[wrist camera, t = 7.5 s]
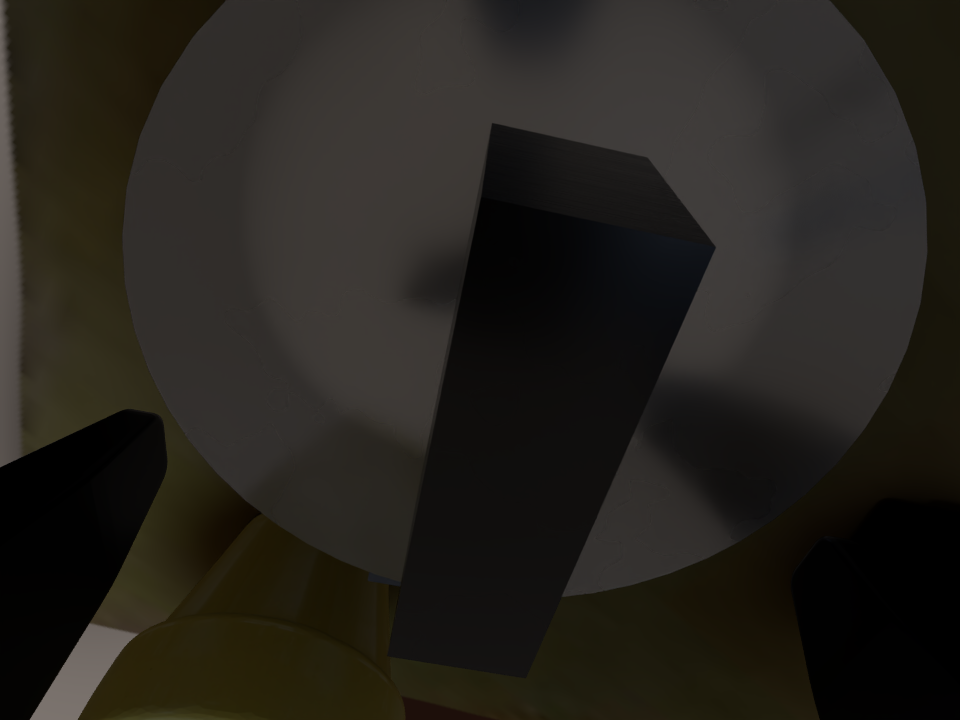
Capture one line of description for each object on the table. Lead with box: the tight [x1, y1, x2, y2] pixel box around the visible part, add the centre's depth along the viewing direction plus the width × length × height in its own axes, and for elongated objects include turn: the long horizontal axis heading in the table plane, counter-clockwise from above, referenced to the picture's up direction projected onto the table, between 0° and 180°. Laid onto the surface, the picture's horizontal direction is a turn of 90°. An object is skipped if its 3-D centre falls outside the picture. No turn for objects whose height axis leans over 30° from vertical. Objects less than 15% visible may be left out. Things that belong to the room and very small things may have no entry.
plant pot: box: [78, 514, 405, 720], centre depth 23 cm, size 10×10×10 cm
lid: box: [122, 0, 927, 678], centre depth 10 cm, size 14×14×5 cm
